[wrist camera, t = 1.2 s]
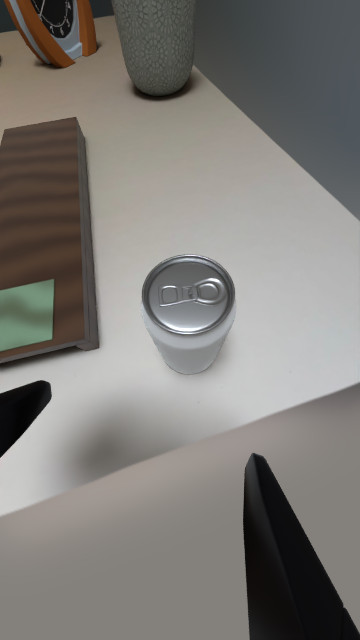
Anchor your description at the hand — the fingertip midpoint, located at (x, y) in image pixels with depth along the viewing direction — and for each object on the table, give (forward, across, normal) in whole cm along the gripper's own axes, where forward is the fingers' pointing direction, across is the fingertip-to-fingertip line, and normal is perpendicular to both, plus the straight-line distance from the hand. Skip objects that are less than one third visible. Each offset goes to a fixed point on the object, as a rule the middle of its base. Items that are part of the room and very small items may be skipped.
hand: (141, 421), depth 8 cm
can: (+14, 0, +4) cm, 15 cm away
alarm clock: (+72, +62, -53) cm, 109 cm away
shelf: (+24, +28, -6) cm, 38 cm away
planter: (+60, +25, -41) cm, 77 cm away
